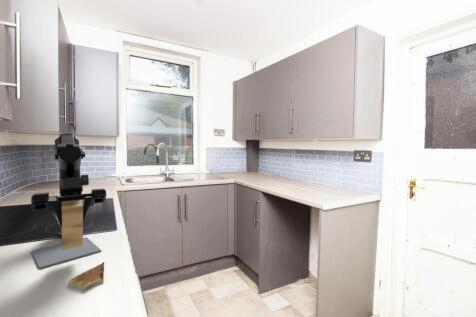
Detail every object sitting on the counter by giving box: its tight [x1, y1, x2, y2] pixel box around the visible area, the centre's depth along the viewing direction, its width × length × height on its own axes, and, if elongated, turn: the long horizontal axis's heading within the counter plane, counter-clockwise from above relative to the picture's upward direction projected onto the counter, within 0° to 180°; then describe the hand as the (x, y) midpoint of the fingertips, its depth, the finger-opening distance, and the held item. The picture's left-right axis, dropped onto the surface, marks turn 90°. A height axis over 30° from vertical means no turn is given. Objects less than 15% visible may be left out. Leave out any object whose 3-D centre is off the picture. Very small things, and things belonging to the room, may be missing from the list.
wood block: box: [61, 200, 84, 250], centre depth 73 cm, size 5×5×13 cm
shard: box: [67, 261, 105, 291], centre depth 65 cm, size 11×8×2 cm
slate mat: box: [30, 236, 102, 270], centre depth 80 cm, size 16×16×1 cm
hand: (72, 224), depth 71 cm, fingers closed on wood block, 5 cm apart
